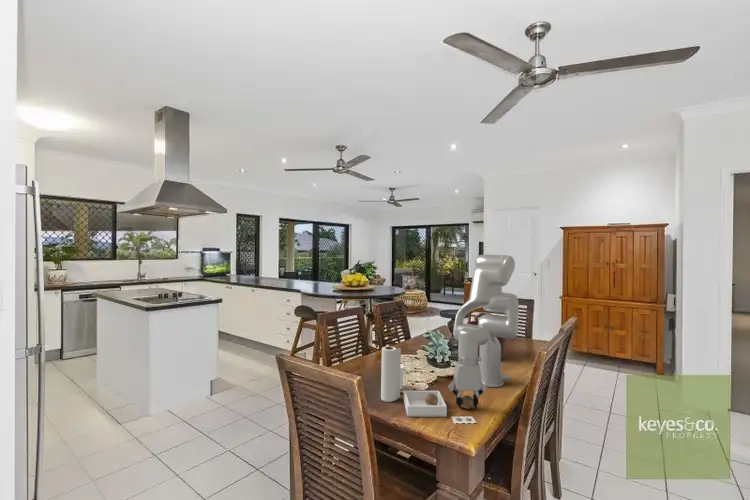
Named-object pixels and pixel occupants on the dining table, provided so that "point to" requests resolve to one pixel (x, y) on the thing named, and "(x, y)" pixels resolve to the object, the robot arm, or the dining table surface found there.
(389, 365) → the paper towel roll
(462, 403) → the walnut ball
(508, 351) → the dining table surface
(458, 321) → the robot arm
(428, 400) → the ball
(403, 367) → the white cup
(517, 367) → the dining table surface
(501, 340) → the bucket
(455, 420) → the card
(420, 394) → the bin
